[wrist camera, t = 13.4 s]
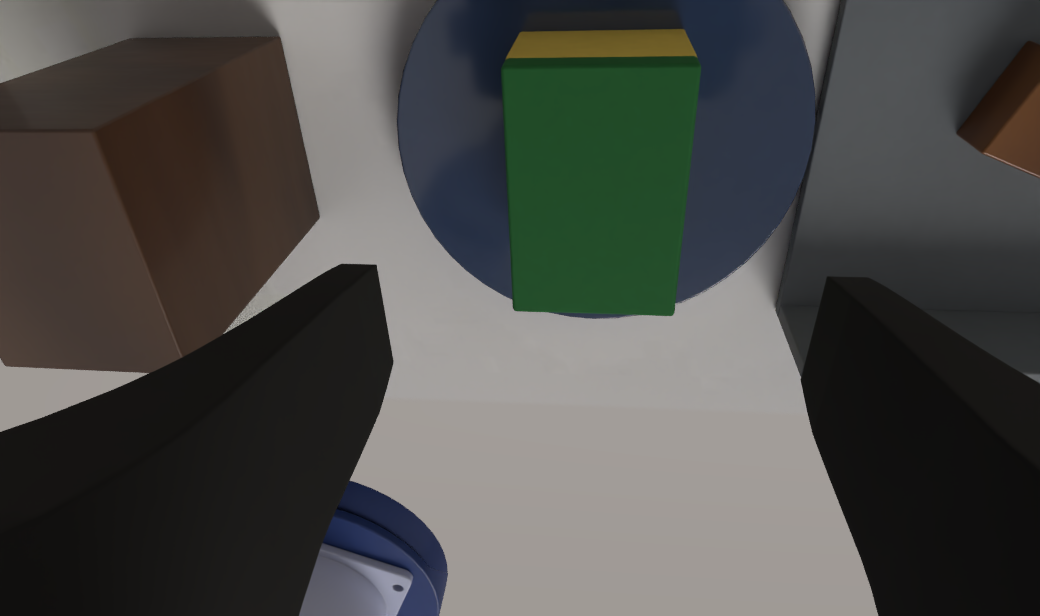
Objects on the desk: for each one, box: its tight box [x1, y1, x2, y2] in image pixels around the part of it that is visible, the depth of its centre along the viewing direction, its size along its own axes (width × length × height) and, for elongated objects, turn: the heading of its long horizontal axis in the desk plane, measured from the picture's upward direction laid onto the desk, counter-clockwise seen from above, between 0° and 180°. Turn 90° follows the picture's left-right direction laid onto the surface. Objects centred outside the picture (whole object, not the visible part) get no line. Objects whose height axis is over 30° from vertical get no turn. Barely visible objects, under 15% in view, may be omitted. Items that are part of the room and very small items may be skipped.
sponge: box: [501, 29, 701, 316], centre depth 16 cm, size 4×6×4 cm, turn 2°
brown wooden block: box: [0, 36, 320, 373], centre depth 17 cm, size 4×6×8 cm
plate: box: [397, 0, 815, 319], centre depth 18 cm, size 11×11×1 cm
